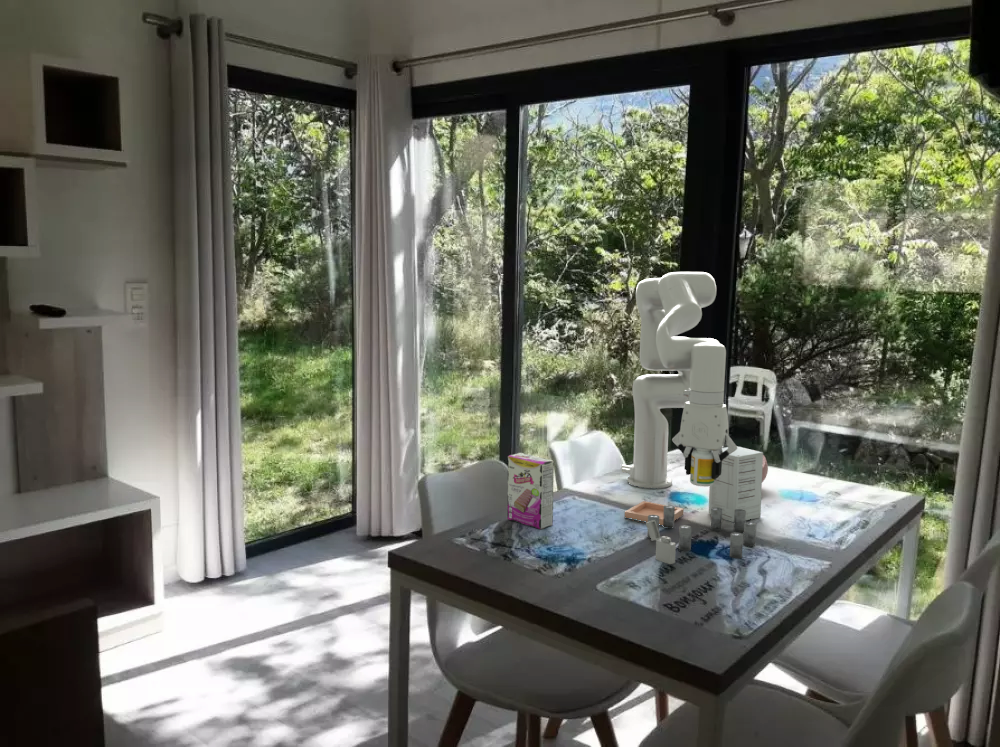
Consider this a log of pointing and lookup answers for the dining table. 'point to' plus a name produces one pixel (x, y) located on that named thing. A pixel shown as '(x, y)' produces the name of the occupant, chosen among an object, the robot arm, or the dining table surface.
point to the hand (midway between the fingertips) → (702, 474)
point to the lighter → (661, 544)
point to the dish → (650, 511)
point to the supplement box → (738, 484)
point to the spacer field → (716, 525)
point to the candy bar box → (530, 490)
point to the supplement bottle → (701, 467)
